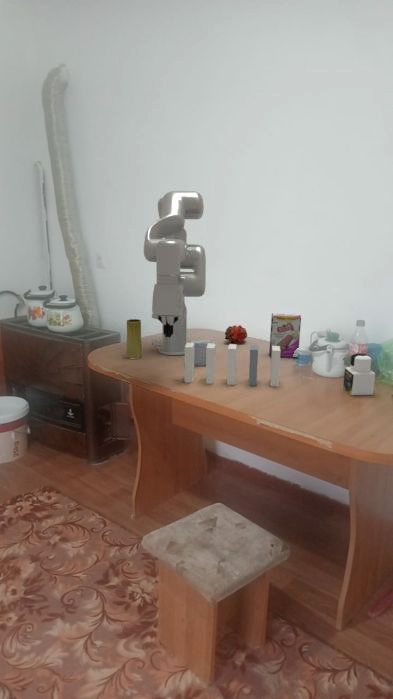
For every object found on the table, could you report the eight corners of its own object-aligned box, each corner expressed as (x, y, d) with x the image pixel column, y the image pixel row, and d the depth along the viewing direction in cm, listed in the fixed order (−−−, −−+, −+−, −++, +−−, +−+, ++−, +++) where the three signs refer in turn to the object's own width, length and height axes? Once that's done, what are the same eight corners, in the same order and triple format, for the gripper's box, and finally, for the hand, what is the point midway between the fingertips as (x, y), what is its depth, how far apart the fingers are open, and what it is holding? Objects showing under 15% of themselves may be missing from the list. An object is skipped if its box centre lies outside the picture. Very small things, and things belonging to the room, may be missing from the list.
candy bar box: (269, 357, 200) (271, 315, 195) (268, 353, 204) (271, 313, 200) (298, 358, 199) (301, 316, 194) (297, 354, 203) (300, 313, 199)
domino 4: (248, 385, 167) (250, 349, 164) (249, 379, 173) (250, 344, 170) (256, 385, 167) (258, 350, 164) (256, 379, 173) (258, 345, 170)
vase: (145, 355, 199) (144, 319, 196) (138, 360, 194) (137, 322, 190) (130, 354, 201) (129, 318, 198) (123, 358, 196) (122, 321, 192)
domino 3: (227, 384, 168) (228, 348, 165) (228, 378, 174) (229, 344, 171) (234, 384, 168) (236, 349, 165) (235, 379, 174) (236, 344, 170)
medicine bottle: (342, 387, 166) (346, 351, 163) (364, 387, 167) (368, 351, 164) (351, 395, 159) (354, 358, 156) (373, 395, 160) (377, 358, 157)
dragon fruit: (222, 348, 218) (243, 348, 225) (235, 340, 211) (256, 340, 219) (217, 330, 220) (238, 330, 228) (229, 321, 214) (250, 322, 222)
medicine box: (208, 362, 192) (209, 339, 190) (212, 365, 188) (213, 342, 186) (188, 363, 190) (188, 340, 188) (191, 367, 186) (192, 343, 184)
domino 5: (270, 386, 167) (272, 350, 163) (270, 380, 172) (271, 345, 169) (278, 386, 166) (280, 350, 163) (277, 380, 172) (279, 346, 169)
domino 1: (184, 382, 169) (184, 347, 166) (186, 376, 175) (187, 342, 172) (192, 382, 169) (192, 347, 166) (194, 377, 175) (194, 342, 172)
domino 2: (205, 383, 169) (206, 347, 166) (207, 377, 174) (207, 343, 171) (213, 383, 168) (214, 348, 165) (214, 378, 174) (215, 343, 171)
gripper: (193, 279, 167) (192, 335, 171) (147, 278, 168) (148, 333, 173) (190, 282, 160) (189, 340, 164) (142, 280, 161) (143, 338, 165)
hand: (168, 336), depth 168 cm, fingers closed
